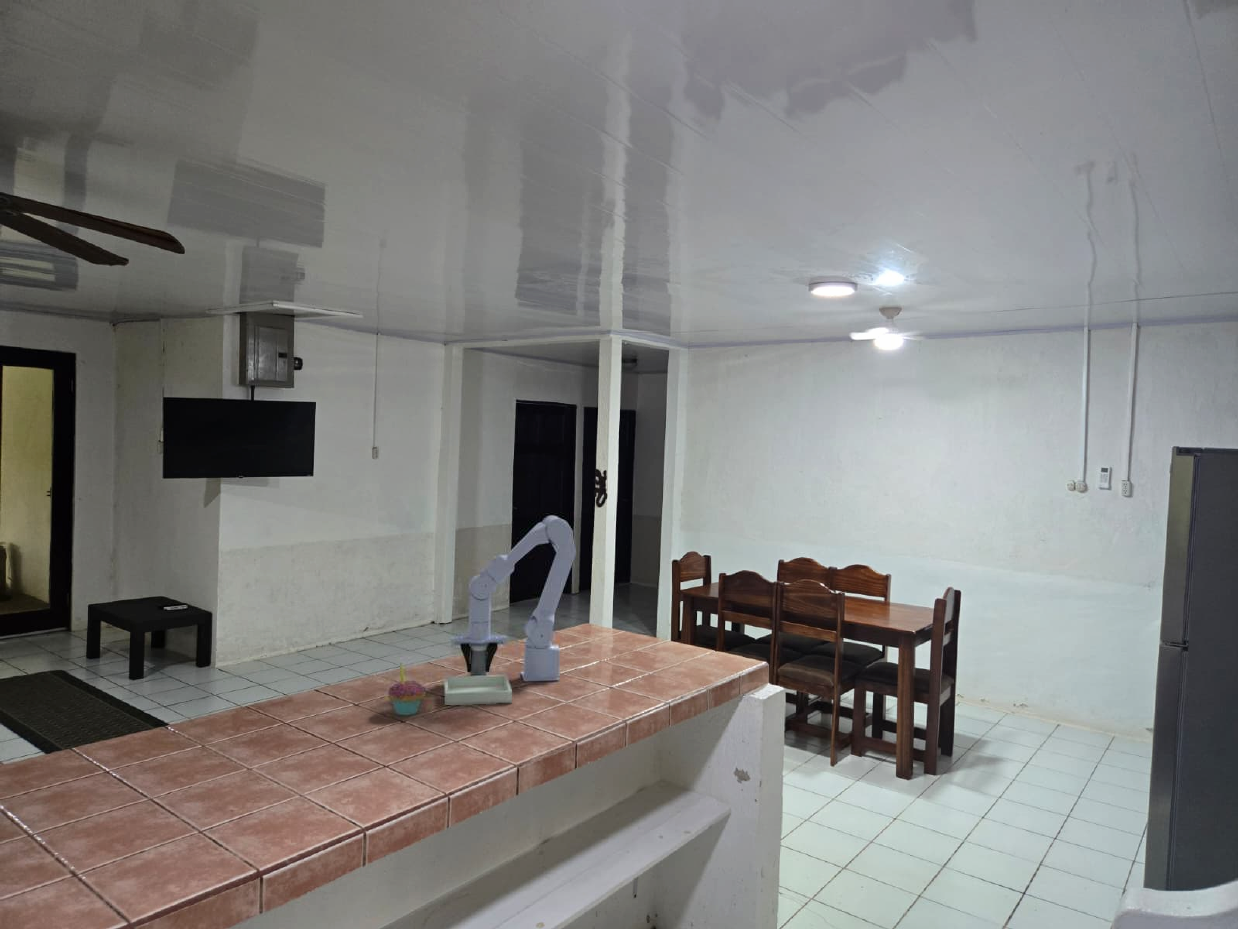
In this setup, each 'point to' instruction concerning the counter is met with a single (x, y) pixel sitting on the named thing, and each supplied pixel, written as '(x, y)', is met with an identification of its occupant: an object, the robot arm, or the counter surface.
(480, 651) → the cylinder
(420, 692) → the cupcake
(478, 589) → the robot arm
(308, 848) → the counter surface
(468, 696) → the tray
